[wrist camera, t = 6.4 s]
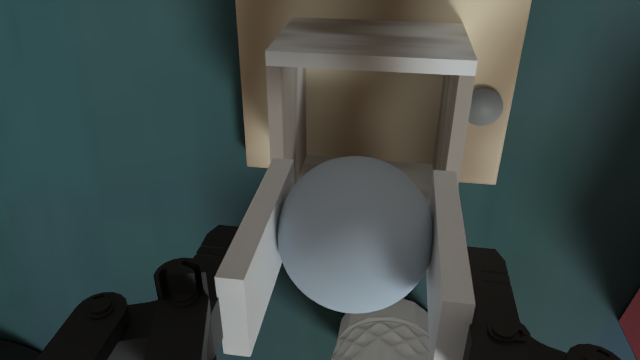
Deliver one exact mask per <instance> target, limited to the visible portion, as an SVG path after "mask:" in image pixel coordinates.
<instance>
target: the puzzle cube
mask: <svg viewBox="0 0 640 360" xmlns="http://www.w3.org/2000/svg"><path fill="white" fill-rule="evenodd" d="M619 324H620V326H621V328H622V330H623V332H624V335H625V337H626V339H627V341H628V343H629V345H630V347H631V349H632V351H633V353H634V355H635V358H636V360H640V288H639V290H638V292H637V293H636V295H635V296H634V298H633V299H632V301H631V303H630V304H629V306H628V307H627V309H626V311H625V312H624V314H623V315H622V317H621V318H620V320H619Z"/></svg>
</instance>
